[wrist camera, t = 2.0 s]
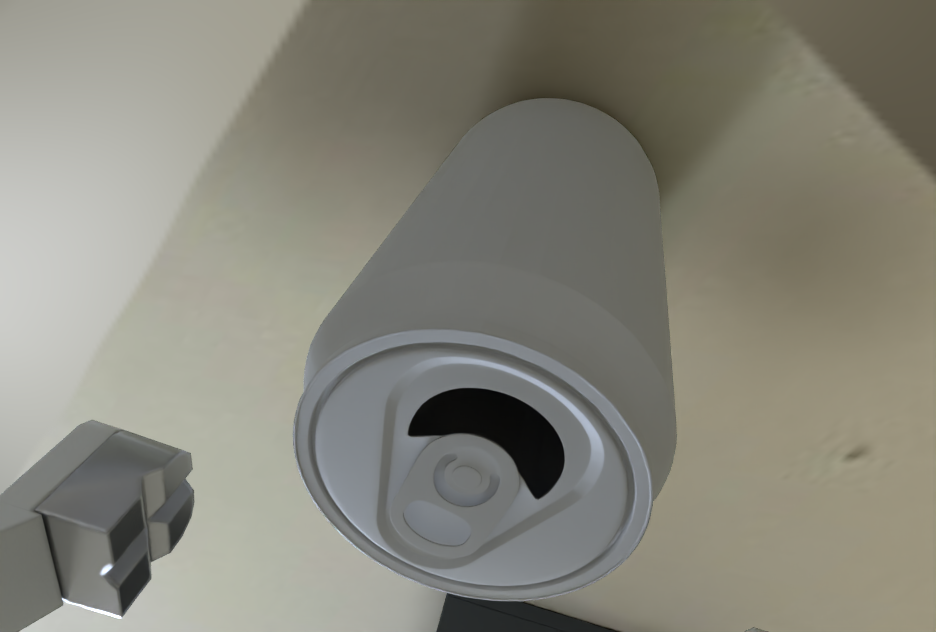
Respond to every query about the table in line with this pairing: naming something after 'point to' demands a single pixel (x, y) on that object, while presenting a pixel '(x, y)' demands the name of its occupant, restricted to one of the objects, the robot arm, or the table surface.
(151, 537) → the robot arm
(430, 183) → the beverage can
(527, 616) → the waste bin
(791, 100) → the table surface
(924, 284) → the table surface
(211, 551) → the table surface
